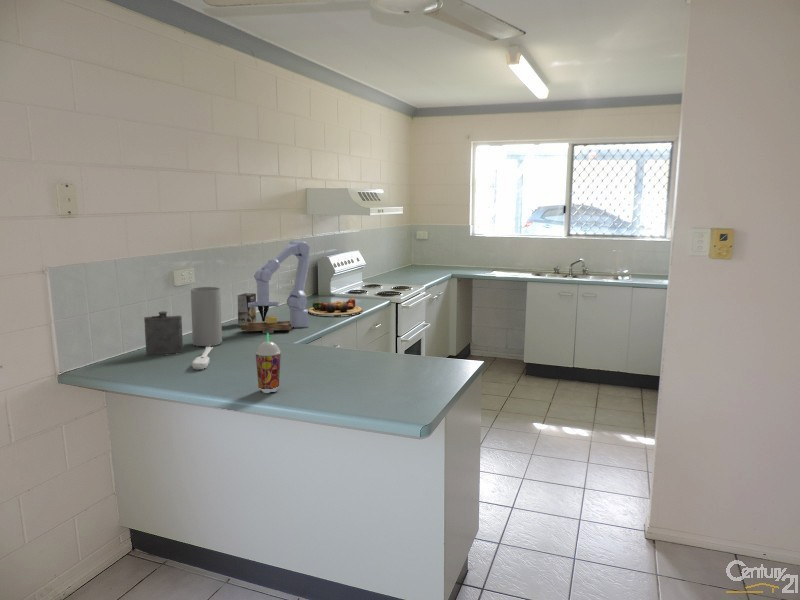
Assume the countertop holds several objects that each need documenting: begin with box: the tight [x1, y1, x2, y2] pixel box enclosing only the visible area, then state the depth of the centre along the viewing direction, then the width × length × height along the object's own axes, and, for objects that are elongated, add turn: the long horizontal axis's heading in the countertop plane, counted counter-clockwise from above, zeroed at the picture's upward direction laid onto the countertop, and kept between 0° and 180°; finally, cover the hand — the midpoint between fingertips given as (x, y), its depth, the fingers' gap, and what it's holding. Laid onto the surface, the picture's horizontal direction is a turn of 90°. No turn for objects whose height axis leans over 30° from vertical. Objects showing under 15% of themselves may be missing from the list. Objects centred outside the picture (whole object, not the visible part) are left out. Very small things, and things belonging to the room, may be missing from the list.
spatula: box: [191, 346, 214, 370], centre depth 234 cm, size 28×6×3 cm, turn 9°
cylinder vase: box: [190, 286, 223, 347], centre depth 261 cm, size 12×12×25 cm
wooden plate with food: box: [308, 297, 363, 316], centre depth 346 cm, size 32×32×8 cm
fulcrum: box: [262, 330, 274, 335], centre depth 290 cm, size 5×9×2 cm, turn 14°
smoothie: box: [255, 333, 282, 389], centre depth 197 cm, size 8×8×20 cm
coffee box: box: [237, 292, 257, 327], centre depth 305 cm, size 9×6×16 cm
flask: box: [143, 310, 184, 356], centre depth 243 cm, size 4×14×18 cm, turn 108°
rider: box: [265, 315, 278, 324], centre depth 290 cm, size 5×5×5 cm
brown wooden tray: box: [240, 320, 292, 332], centre depth 290 cm, size 24×8×3 cm, turn 104°
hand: (263, 321), depth 289 cm, fingers closed
